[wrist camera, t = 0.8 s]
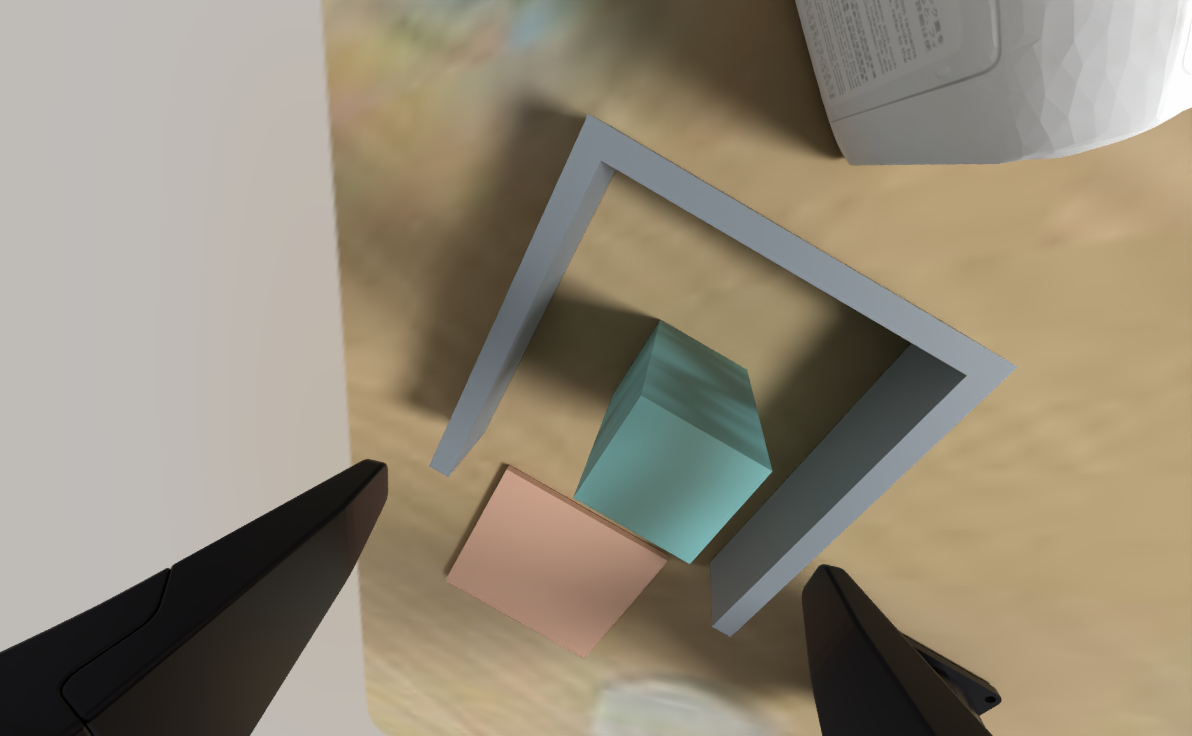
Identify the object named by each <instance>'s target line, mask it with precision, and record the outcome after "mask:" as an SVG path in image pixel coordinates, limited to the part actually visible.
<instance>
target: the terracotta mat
mask: <svg viewBox="0 0 1192 736" xmlns="http://www.w3.org/2000/svg"><path fill="white" fill-rule="evenodd" d="M667 561H668V555H666V554H664V553H663V552H661V551H659V550H657V549H656V548H654V547H652V546H650V545H649V544H647V543H645V542H643V541H641V540H640V539H638V538H636V537H634V536H633V535H631V534H629V533H627V532H626V531H624V530H622V529H620V528H619V527H617V526H615V525H613V524H612V523H610V522H608V521H606V520H605V519H603V518H601V517H599V516H598V515H596V514H594V513H592V512H591V511H589V510H587V509H585V508H584V507H582V506H580V505H578V504H577V503H575V502H573V501H571V500H570V499H568V498H566V497H564V496H563V495H561V494H559V493H557V492H556V491H554V490H552V489H550V488H549V487H547V486H545V485H543V484H542V483H540V482H538V481H536V480H534V479H533V478H531V477H529V476H527V475H526V474H524V473H522V472H520V471H519V470H517V469H515V468H513V467H512V466H510V465H509V466H508V468H507V469H506V471H505V473H504V475H503V477H502V479H501V480H500V482H499V484H498V486H497V488H496V489H495V491H494V493H493V495H492V497H491V498H490V500H489V502H488V504H487V506H486V508H485V509H484V511H483V513H482V515H481V517H480V518H479V520H478V522H477V524H476V526H475V527H474V529H473V531H472V533H471V535H470V537H469V538H468V540H467V542H466V544H465V546H464V547H463V549H462V551H461V553H460V555H459V556H458V558H457V560H456V562H455V564H454V566H453V567H452V569H451V571H450V573H449V575H448V576H447V578H446V580H445V581H447V582H449V583H451V584H452V585H454V586H456V587H458V588H460V589H461V590H463V591H465V592H467V593H468V594H470V595H472V596H474V597H476V598H477V599H479V600H481V601H483V602H484V603H486V604H488V605H490V606H492V607H493V608H495V609H497V610H499V611H500V612H502V613H504V614H506V615H508V616H509V617H511V618H513V619H515V620H516V621H518V622H520V623H522V624H524V625H525V626H527V627H529V628H531V629H532V630H534V631H536V632H538V633H540V634H541V635H543V636H545V637H547V638H548V639H550V640H552V641H554V642H556V643H557V644H559V645H561V646H563V647H564V648H566V649H568V650H570V651H572V652H573V653H575V654H577V655H579V656H580V657H582V658H585V657H586V656H587V655H588V654H589V652H590V651H591V650H592V649H593V648H594V647H595V645H596V644H597V643H598V642H599V641H600V640H601V638H602V637H603V636H604V635H605V634H606V633H607V631H608V630H609V629H610V628H611V627H612V626H613V624H614V623H615V622H616V621H617V620H618V619H619V617H620V616H621V615H622V614H623V613H624V612H625V610H626V609H627V608H628V607H629V606H630V605H631V603H632V602H633V601H634V600H635V599H636V598H637V596H638V595H639V594H640V593H641V592H642V591H643V589H644V588H645V587H646V586H647V585H648V584H649V582H650V581H651V580H652V579H653V578H654V577H655V575H656V574H657V573H658V572H659V571H660V570H661V568H662V567H663V566H664V565H665V564H666V563H667Z"/></svg>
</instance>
